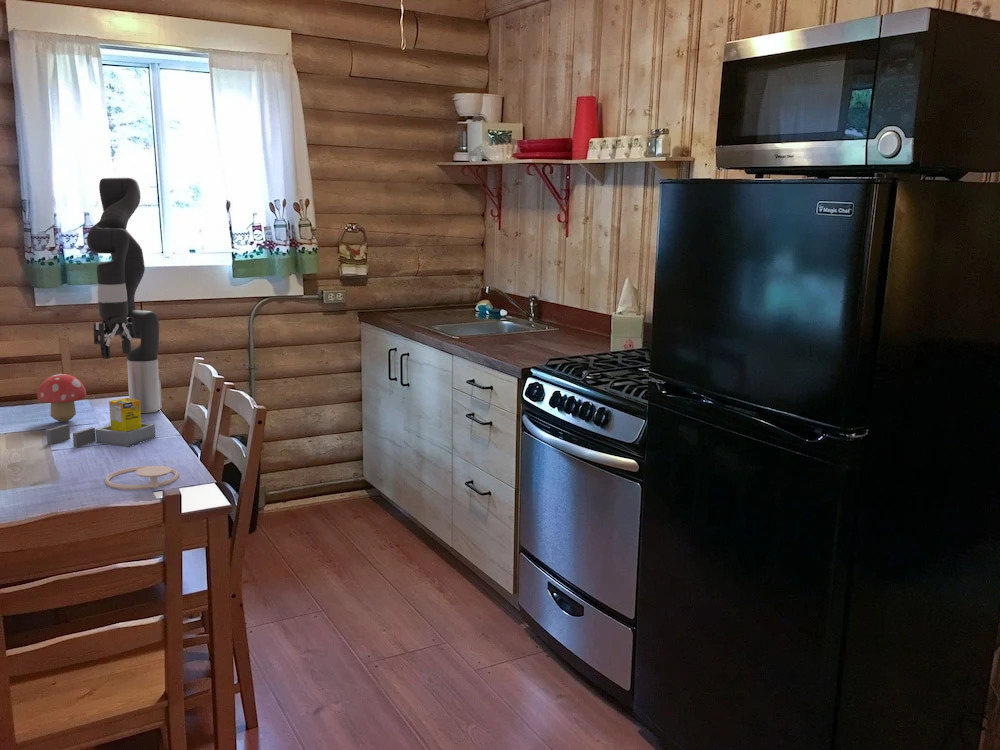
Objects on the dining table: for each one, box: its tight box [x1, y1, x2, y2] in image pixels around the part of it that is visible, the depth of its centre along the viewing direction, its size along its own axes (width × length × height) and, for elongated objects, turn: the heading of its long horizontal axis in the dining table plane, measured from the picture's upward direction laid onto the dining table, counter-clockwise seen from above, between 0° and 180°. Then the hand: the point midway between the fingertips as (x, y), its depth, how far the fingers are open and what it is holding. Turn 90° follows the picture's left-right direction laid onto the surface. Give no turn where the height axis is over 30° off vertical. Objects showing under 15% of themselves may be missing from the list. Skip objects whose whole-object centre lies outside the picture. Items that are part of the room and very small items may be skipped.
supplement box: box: [108, 397, 142, 432], centre depth 236 cm, size 6×6×11 cm
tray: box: [95, 422, 156, 448], centre depth 236 cm, size 11×11×4 cm
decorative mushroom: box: [36, 373, 87, 423], centre depth 253 cm, size 13×13×15 cm
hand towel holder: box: [104, 465, 180, 491], centre depth 202 cm, size 17×4×21 cm
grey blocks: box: [46, 423, 96, 448], centre depth 232 cm, size 7×10×4 cm
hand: (116, 355), depth 236 cm, fingers open, 8 cm apart
